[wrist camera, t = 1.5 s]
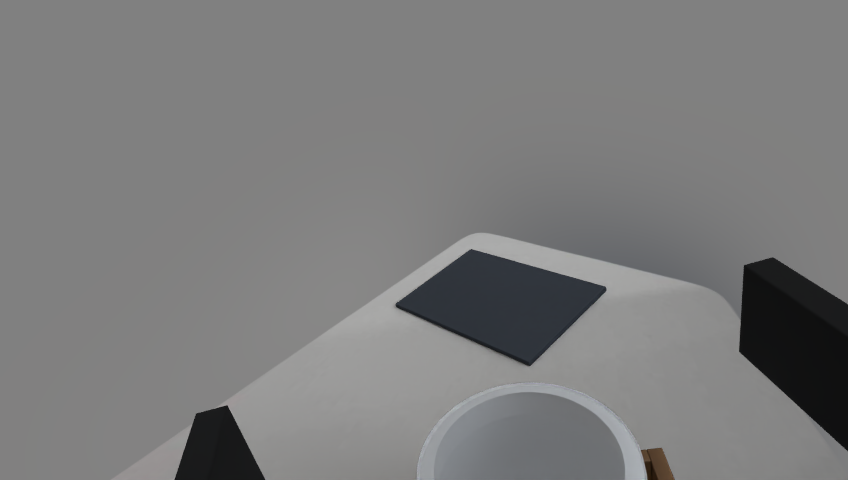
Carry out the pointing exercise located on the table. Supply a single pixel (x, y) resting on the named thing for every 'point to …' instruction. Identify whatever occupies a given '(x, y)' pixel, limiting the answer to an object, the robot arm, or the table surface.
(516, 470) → the jar
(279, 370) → the table surface
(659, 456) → the wooden square frame
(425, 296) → the mat
